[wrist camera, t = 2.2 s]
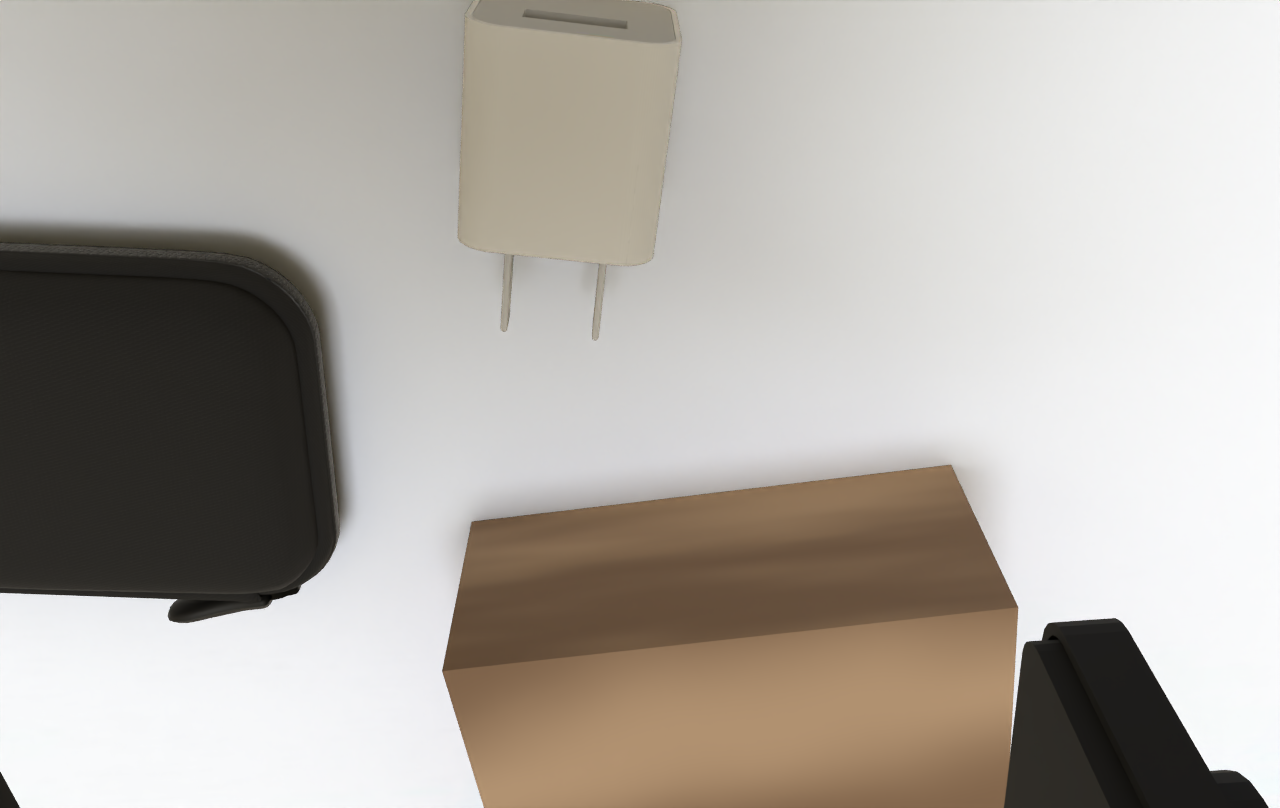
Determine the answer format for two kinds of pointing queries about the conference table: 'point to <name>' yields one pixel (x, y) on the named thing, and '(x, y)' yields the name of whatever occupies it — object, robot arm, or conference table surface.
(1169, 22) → the conference table surface
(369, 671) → the conference table surface
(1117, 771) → the robot arm
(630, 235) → the usb wall charger
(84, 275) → the carrying case or bag
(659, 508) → the walnut block
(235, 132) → the conference table surface
